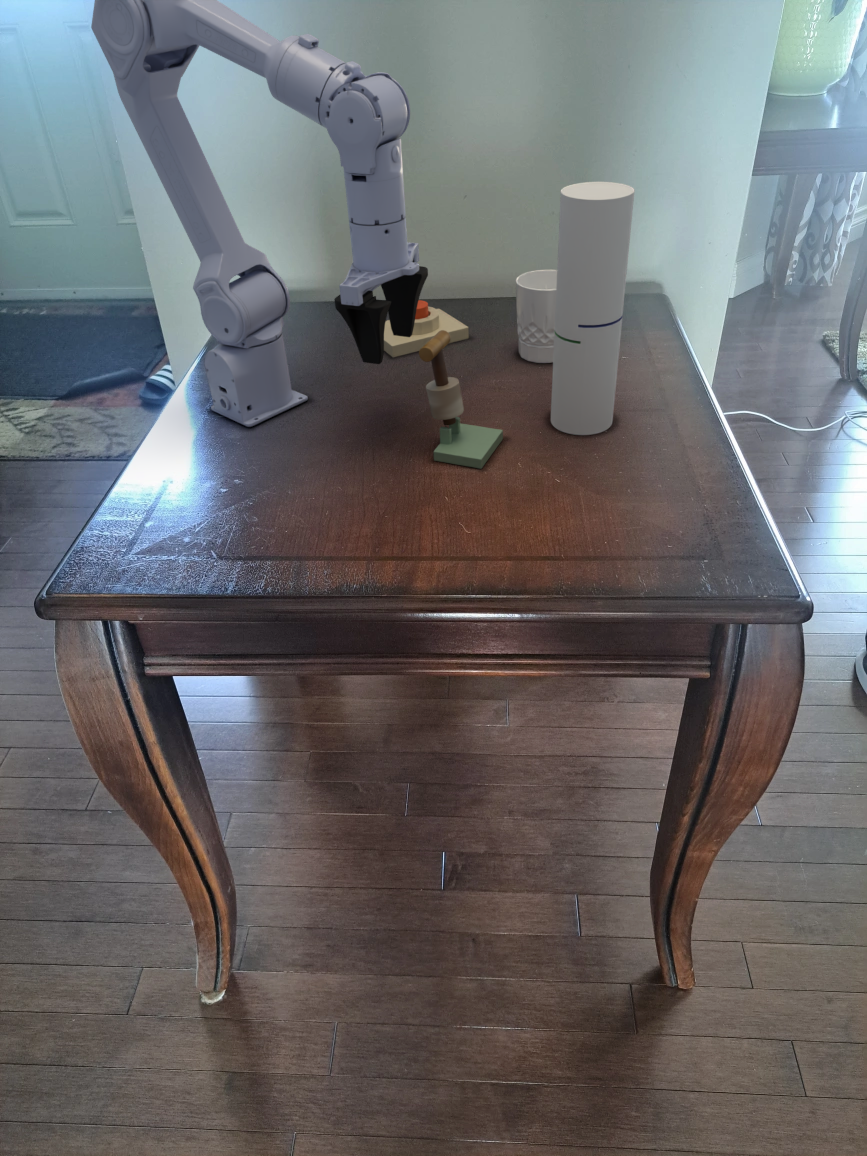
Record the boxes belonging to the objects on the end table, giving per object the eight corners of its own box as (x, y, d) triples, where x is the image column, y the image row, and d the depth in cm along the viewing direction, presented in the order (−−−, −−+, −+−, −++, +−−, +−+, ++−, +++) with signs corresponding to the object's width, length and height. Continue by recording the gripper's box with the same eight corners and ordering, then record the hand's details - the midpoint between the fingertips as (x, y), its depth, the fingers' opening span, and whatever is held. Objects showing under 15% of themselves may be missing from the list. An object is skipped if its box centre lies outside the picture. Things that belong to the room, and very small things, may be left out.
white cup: (572, 342, 115) (576, 268, 109) (574, 365, 109) (578, 289, 103) (515, 342, 116) (516, 269, 110) (513, 365, 110) (514, 290, 104)
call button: (410, 323, 115) (409, 311, 114) (398, 315, 118) (398, 303, 117) (433, 317, 116) (432, 305, 115) (421, 310, 119) (420, 298, 118)
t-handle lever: (408, 347, 85) (440, 346, 84) (427, 330, 89) (457, 329, 87) (426, 432, 91) (456, 432, 89) (443, 413, 94) (472, 413, 92)
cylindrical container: (611, 436, 93) (633, 199, 78) (547, 433, 95) (557, 199, 79) (613, 408, 99) (634, 181, 83) (553, 405, 100) (563, 181, 85)
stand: (433, 460, 91) (432, 436, 89) (457, 431, 96) (456, 408, 94) (481, 469, 89) (481, 444, 87) (503, 439, 94) (503, 415, 92)
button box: (393, 357, 114) (391, 333, 112) (366, 336, 120) (364, 313, 118) (469, 338, 118) (468, 314, 116) (439, 319, 124) (438, 296, 122)
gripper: (380, 241, 76) (392, 379, 84) (442, 201, 86) (447, 328, 95) (314, 236, 78) (331, 371, 87) (381, 197, 89) (391, 321, 97)
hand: (388, 348), depth 91 cm, fingers open, 7 cm apart
